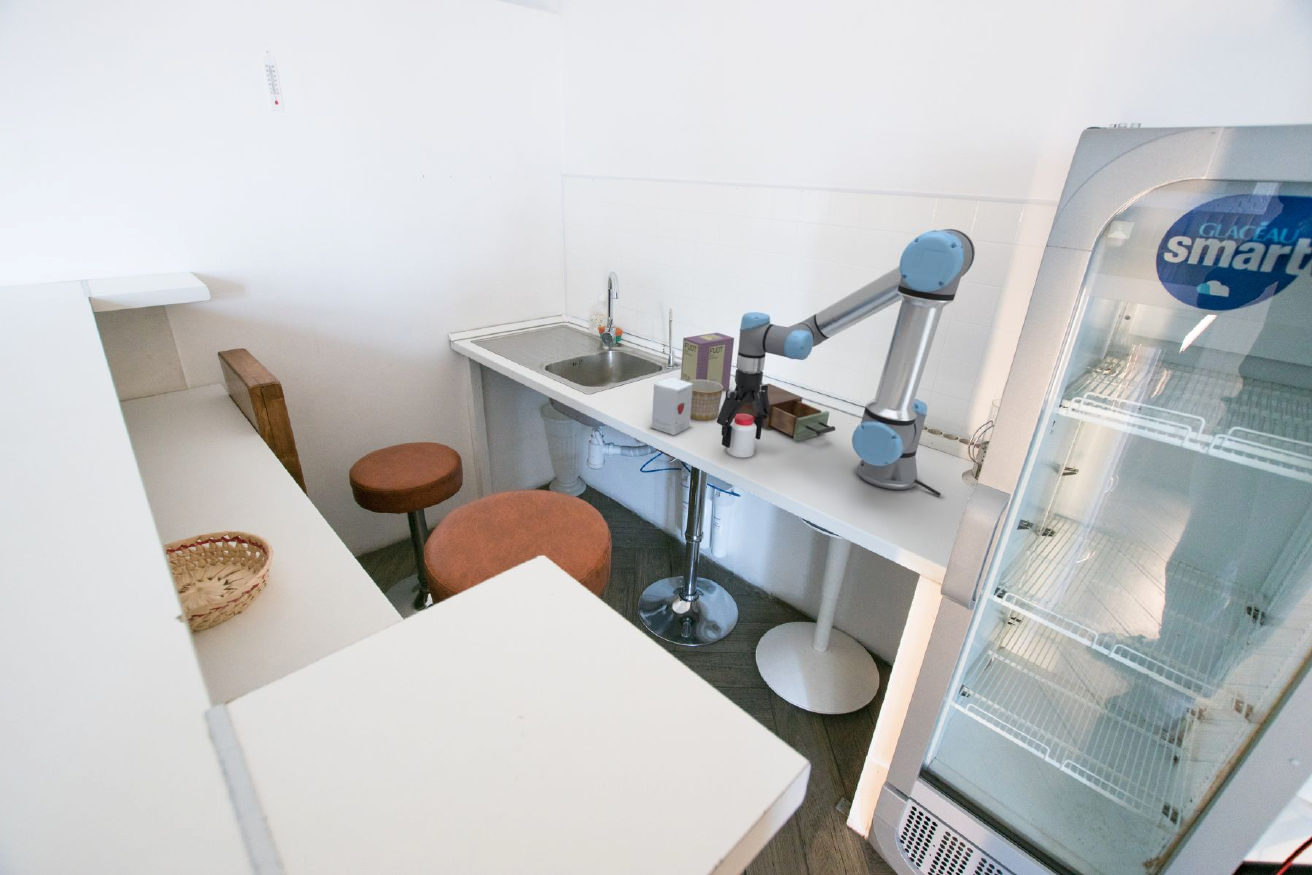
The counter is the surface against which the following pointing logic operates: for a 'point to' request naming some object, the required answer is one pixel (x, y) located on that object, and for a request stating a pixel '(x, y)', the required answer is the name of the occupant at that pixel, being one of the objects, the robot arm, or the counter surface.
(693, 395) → the planter
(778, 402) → the cabinet
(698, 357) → the box
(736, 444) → the pill bottle
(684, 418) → the rectangular carton
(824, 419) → the drawer
